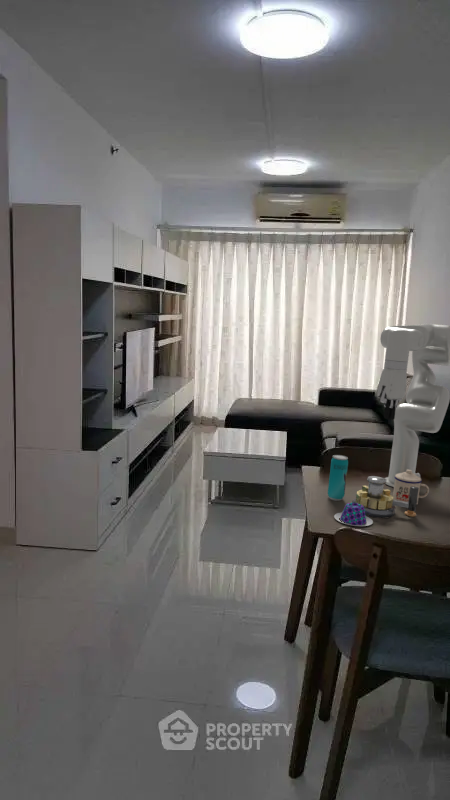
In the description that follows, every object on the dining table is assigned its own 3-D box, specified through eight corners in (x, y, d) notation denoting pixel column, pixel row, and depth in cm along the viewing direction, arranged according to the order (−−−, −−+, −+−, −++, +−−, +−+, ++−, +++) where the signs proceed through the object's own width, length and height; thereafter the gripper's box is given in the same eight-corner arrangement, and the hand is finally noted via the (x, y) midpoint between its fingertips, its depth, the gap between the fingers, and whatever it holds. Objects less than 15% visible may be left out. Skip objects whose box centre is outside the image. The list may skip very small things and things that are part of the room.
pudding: (346, 511, 200) (348, 496, 200) (379, 522, 193) (381, 506, 192) (326, 519, 191) (328, 503, 191) (360, 531, 184) (362, 514, 183)
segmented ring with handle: (353, 505, 199) (356, 482, 198) (358, 495, 210) (360, 473, 209) (414, 516, 193) (418, 493, 192) (416, 505, 204) (419, 483, 203)
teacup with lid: (392, 504, 211) (396, 471, 209) (390, 496, 220) (395, 465, 218) (428, 509, 209) (433, 476, 207) (425, 501, 218) (430, 469, 216)
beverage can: (343, 502, 209) (348, 459, 206) (326, 500, 210) (331, 457, 207) (343, 497, 214) (348, 455, 212) (327, 495, 215) (332, 453, 213)
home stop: (408, 512, 204) (411, 489, 203) (418, 515, 201) (421, 492, 200) (402, 513, 202) (405, 490, 200) (411, 517, 199) (414, 493, 198)
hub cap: (369, 500, 213) (373, 470, 211) (403, 513, 202) (407, 482, 200) (342, 506, 204) (346, 475, 202) (377, 520, 193) (381, 487, 192)
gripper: (399, 364, 214) (393, 415, 217) (372, 364, 205) (366, 418, 208) (418, 367, 209) (411, 419, 212) (391, 367, 199) (384, 422, 202)
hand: (389, 418), depth 210 cm, fingers closed
